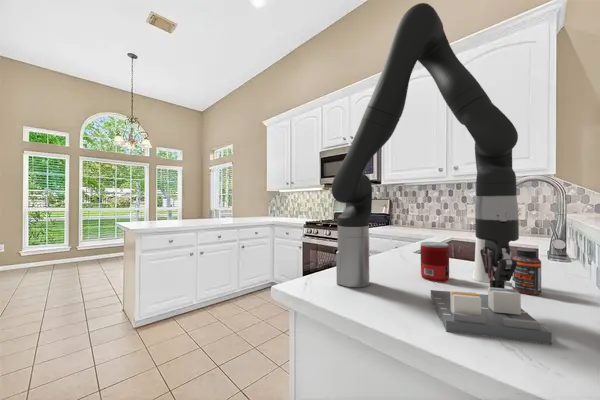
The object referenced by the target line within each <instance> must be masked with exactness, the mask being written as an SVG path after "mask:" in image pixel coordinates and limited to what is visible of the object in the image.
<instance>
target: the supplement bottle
mask: <svg viewBox="0 0 600 400" xmlns="http://www.w3.org/2000/svg"><path fill="white" fill-rule="evenodd" d="M511 260H516V262H517V266H516V268H515V270H514V273H513V275H512V277H511V279H512V280H511V284H512V285H511V287H512V288H511V289H514V290H517V291H518V293H520V294H524V295H531V296H538V295H541V294H542V260H541V259H540V258H539V257H537V250H535V249H532V248H522V247H521V248H519V247H518V248H516V255H514V256H513V257H512V259H511Z"/></svg>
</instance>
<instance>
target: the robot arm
mask: <svg viewBox="0 0 600 400" xmlns="http://www.w3.org/2000/svg"><path fill="white" fill-rule="evenodd" d="M417 62H419V64H421V65H422V66H423V67H424V68H425V69H426V71H427V72H428V73H429V74H430V76H431V77H432V79H433V81H434V83H435V84H436V86H437V89H438V90H439V92H440V94H441V96H442V99H443V100H444V101H445V103H446V105H447V107H448V108H449V109H450V111H451V112H452V114H453V116H454V117H455V118H456V120H457V121H458V122H459V123H460V124H461V125H463V126H464V127H465V128H466V130H467V131H468V133H469V134H470V136H471V137H472V138H473V140H474V157H475V159H474V160H475V166H476V181H475V188H476V189H475V192H476V193H475V194H476V195H475V197H476V198H475V206H474V212H475V213H474V215H475V216H474V217H475V220H474V223H475V225H474V226H475V230H474V231H475V238H476V237H477V238H478V239H482V240H485V244H484V246H485V247H483V249H481V250H480V253H481V257H482V261H483V265H484V269H485V273H486V274H488V278H489V279H490V283H489V287H491V288H504V289H506V288H505V283H506V282H511V281H512V280H511V279H512V275H513V273H514V270H515V268H516V266H517V262H516V260H512V259H511V258H512V250H511V247H510V242H515V241H519V239H520V237H519V236H520V231H519V229H520V227H519V224H520V223H519V203H518V200H517V199H518V197H517V177H516V176H517V175H516V172H515V171H514V169H513V149H514V148H515V147H516V145H517V142H518V140H519V134H518V131H517V128H516V126H515V125H514V124H513V122H512V121H511V119H510V118H509V117H508V116H507V115H505V113H503V111H502V110H501V109H499V108H498V107H497V106H496V105H495V104H494V103H493V102H492V99H490V97H489V96H488V94H487V93H486V91H485V90H484V88H483V87H482V85H481V84H480V83H479V82H478V80H477V79H476V78H475V77H474V75H473V74H472V73H471V72H470V70H468V69H467V68H466V67H465V65H463V63H462V62H461V61H460V60H459V59H458V56H457V55H456V54H455V52H454V50H453V49H452V46H451V44H450V43H449V40H448V38H447V35H446V33H445V29H444V24H443V22H442V20H441V18H440V16H439V15H438V13H437V11H436V9H435V8H434V7H433V6H432V5H430V4H428V3H426V2H419V3H417V4H415V5H413V6H412V7H410V8H409V9H408V10H407V11H406V12H405V13H404V14H403V15H402V17H401V19H400V20H399V22H398V24H397V27H396V29H395V32H394V35H393V38H392V42H391V45H390V48H389V50H388V54H387V58H386V59H385V63H384V66H383V68H382V71H381V72H380V73H381V74H380V76H379V78H378V80H377V83H376V85H375V88H374V91H373V92H372V95H371V98H370V100H369V102H368V104H367V106H366V109H364V110H365V111H364V113H363V114H362V118H361V121H360V122H359V123H360V124H359V126H358V128H357V131H356V132H355V135H354V138H353V139H352V142H351V145H350V146H349V148H348V150H347V153H346V155H345V157H344V159H343V161H342V162H341V164H340V166H339V168H338V170H337V172H336V173H335V175H334V177H333V180H332V183H331V196H332V197H333V199H334V200H335V201H336V202H338V203H343V204H345V208H344V211H343V212H342V213H341V214H339V215H338V216H337V220H336V221H337V251H336V253H335V255H336V256H335V257H336V258H335V259H336V265H335V266H336V268H335V269H336V285H341V286H344V287H348V288H362V287H363V288H364V287H365V288H366V287H367V286H369V285H370V237H369V236H370V233H369V232H370V231H369V230H370V229H369V228H370V227H369V226H370V224H369V223H370V222H369V221H370V218H371V215H372V209H373V208H372V207H373V206H372V205H373V204H372V203H373V187H372V182H371V179H370V178H369V176H368V175H366V173H364V172H365V170H366V167H367V165H368V164H369V162H370V161H371V159H372V158H373V157H374V156H375V155H376V154H377V153H378V152H379V151H380V150H381V149H382V147H384V145H385V144H387V142H388V141H389V140H390V138H391V137H392V135H393V133H394V132H395V130H396V128H397V126H398V124H399V121H400V120H401V117H402V115H403V113H404V109H405V105H406V100H407V97H408V91H409V90H408V89H409V83H410V81H411V76H412V73H413V70H414V69H415V66H416V64H417Z"/></svg>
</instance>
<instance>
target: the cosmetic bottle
mask: <svg viewBox="0 0 600 400" xmlns="http://www.w3.org/2000/svg"><path fill="white" fill-rule="evenodd" d="M484 244H485V240H482V239H478V238H477V237H476V236H475V249H474V250H475V251H474V266H473V273H472V277H471V278H472V280H474V281H476V282H479V283H486V284H487V283H488V284H490V279H489V278H488V274H486V273H485V269H484V265H483V261H482V257H481V253H480V250H481V249H483V247H485V246H484Z"/></svg>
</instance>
